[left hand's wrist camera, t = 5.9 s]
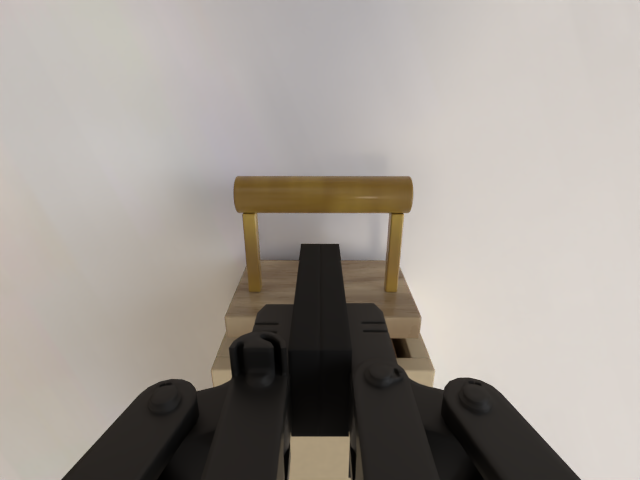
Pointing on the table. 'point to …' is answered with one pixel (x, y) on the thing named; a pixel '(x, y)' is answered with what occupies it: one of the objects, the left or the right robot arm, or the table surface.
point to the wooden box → (333, 452)
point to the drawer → (359, 276)
